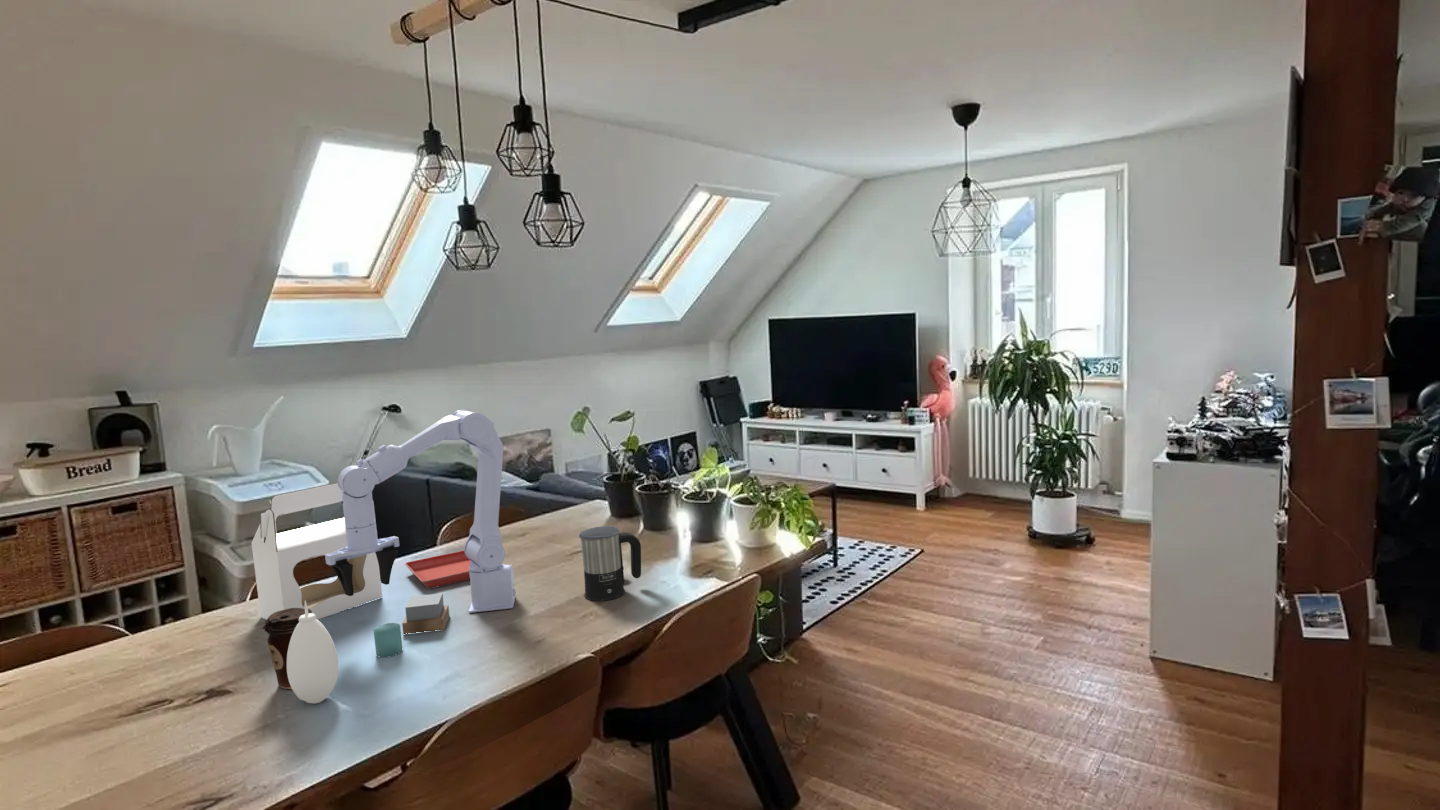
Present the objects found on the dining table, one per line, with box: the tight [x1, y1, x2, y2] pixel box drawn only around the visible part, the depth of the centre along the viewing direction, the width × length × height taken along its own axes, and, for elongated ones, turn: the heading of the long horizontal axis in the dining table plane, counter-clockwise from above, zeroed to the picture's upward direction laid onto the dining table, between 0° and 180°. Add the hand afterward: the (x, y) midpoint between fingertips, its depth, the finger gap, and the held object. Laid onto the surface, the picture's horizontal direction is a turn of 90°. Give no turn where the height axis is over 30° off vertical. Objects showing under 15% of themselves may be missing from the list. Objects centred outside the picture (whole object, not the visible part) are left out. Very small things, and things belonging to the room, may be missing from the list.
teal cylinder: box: [373, 622, 403, 658], centre depth 155 cm, size 5×5×5 cm
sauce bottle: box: [287, 601, 339, 705], centre depth 136 cm, size 8×8×18 cm
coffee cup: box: [262, 608, 317, 690], centre depth 144 cm, size 9×8×13 cm
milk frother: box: [578, 526, 642, 602], centre depth 185 cm, size 14×16×15 cm
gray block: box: [405, 592, 444, 621], centre depth 168 cm, size 6×6×3 cm
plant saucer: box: [404, 550, 471, 589], centre depth 201 cm, size 18×18×3 cm
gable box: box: [251, 482, 383, 621], centre depth 181 cm, size 22×13×28 cm, turn 141°
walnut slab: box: [401, 604, 450, 635], centre depth 168 cm, size 8×8×3 cm
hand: (367, 589), depth 163 cm, fingers open, 7 cm apart
